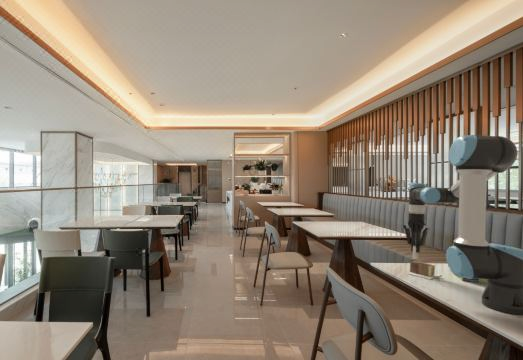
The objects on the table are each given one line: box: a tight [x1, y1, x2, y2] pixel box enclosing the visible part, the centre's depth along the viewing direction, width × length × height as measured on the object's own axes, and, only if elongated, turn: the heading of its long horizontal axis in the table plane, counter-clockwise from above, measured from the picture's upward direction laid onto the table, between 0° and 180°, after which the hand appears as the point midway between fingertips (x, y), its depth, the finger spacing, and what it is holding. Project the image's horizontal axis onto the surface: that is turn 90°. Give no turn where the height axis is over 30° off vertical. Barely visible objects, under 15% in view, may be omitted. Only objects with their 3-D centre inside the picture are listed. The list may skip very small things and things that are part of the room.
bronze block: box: [409, 260, 436, 277], centre depth 166 cm, size 5×5×10 cm
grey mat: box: [407, 272, 442, 280], centre depth 165 cm, size 12×11×1 cm
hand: (415, 258), depth 169 cm, fingers closed
